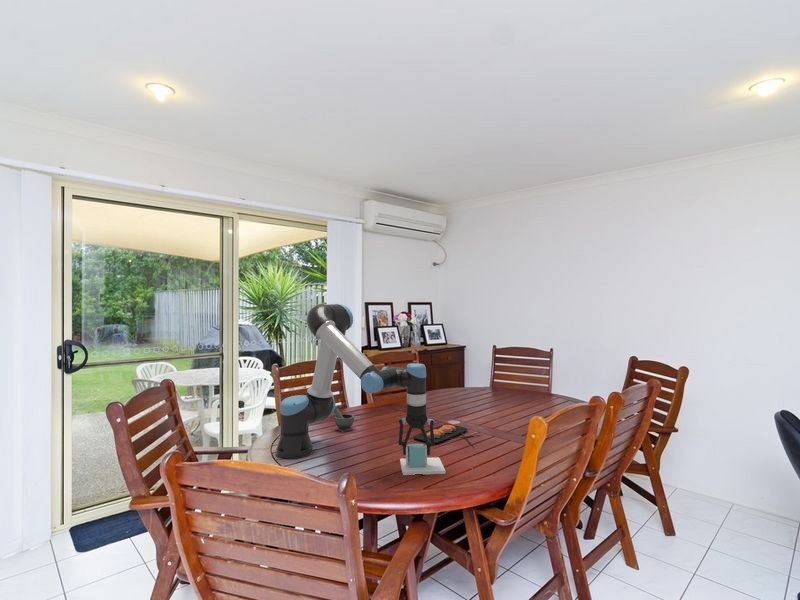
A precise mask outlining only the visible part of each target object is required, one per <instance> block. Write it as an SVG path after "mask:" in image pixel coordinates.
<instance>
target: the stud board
mask: <svg viewBox="0 0 800 600" xmlns="http://www.w3.org/2000/svg"><path fill="white" fill-rule="evenodd" d="M399 462H400V463H399V465H400V468H401V473H403V474H402V476H410V475H411V476H416V475H415V474H423V475H445V474H446V469H445V467H444V465H443V462H442V461H441V459H440V457H439V456H437V457H427V465H425V467H409V463H408V464H406V457H405V458H399Z"/></svg>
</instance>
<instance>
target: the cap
mask: <svg viewBox="0 0 800 600" xmlns="http://www.w3.org/2000/svg"><path fill="white" fill-rule="evenodd" d="M407 445H408V463H409V467H425V445H424V443H407Z"/></svg>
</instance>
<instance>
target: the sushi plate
mask: <svg viewBox="0 0 800 600" xmlns="http://www.w3.org/2000/svg"><path fill="white" fill-rule="evenodd" d="M425 431H426V434H427V437H428V440H429V442H431V436H430V429H428V430H425ZM433 431H434V441H435V444H438V443H441V442H444V441H445V440H453V439H454V440H455V439H465V440H466V441H467V442H468V444H469V445H470V446H471V447H472V448H473V450H474V449H476V447H475V446H474V445H473V444H472V443H471V441H470V440H469V439H468V438H474V436H476V437H480V435H481V434H477V435H466V436H465V435H464V433H465V432H467V431H468V428H467V427H464V426H460V425H455V424H454V425H453V424H448V423H447V424H445V423H444V424H441V425H438V426H435V427H433ZM460 434H461V435H462V436H459V437H457V436H458V435H460ZM455 436H456V437H455ZM412 438H413V439H415V440H419V441H421V442H425V440H424V437H423V434H422V432H419V433H417V434H415V435H413V437H412Z"/></svg>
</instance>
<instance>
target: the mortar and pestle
mask: <svg viewBox="0 0 800 600" xmlns="http://www.w3.org/2000/svg"><path fill="white" fill-rule="evenodd" d="M333 413H334V414H335V416H334V422H335V426H337V428H338V430H339V431H338V430H337V431H338V432H340V431H348V432H350V431H351V427H352V426H353V424H354V420H355V416H354V414H350V413H341V411H340V409H339V407H338V405H335V410H334V412H333ZM349 430H350V431H349Z"/></svg>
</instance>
